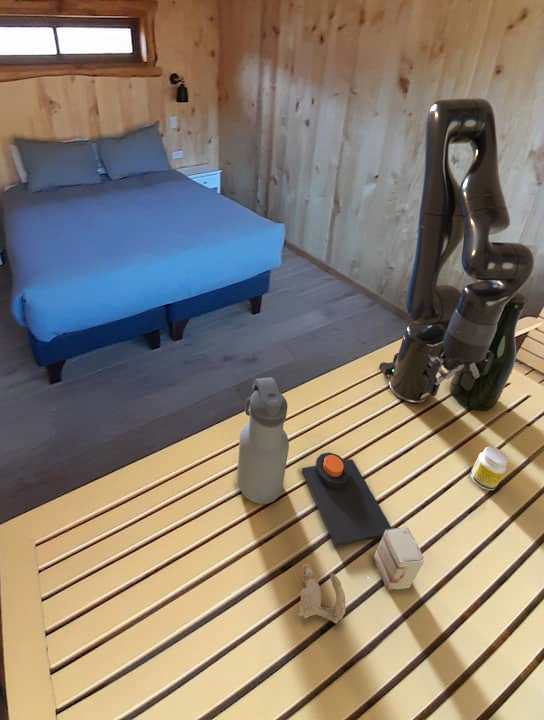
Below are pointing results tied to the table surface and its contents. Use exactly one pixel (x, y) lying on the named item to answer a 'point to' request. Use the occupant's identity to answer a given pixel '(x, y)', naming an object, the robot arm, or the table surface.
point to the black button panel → (345, 503)
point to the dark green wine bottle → (493, 362)
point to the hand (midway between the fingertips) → (447, 390)
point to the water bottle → (263, 444)
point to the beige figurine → (313, 598)
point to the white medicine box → (398, 558)
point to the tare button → (333, 466)
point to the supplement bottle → (489, 468)
